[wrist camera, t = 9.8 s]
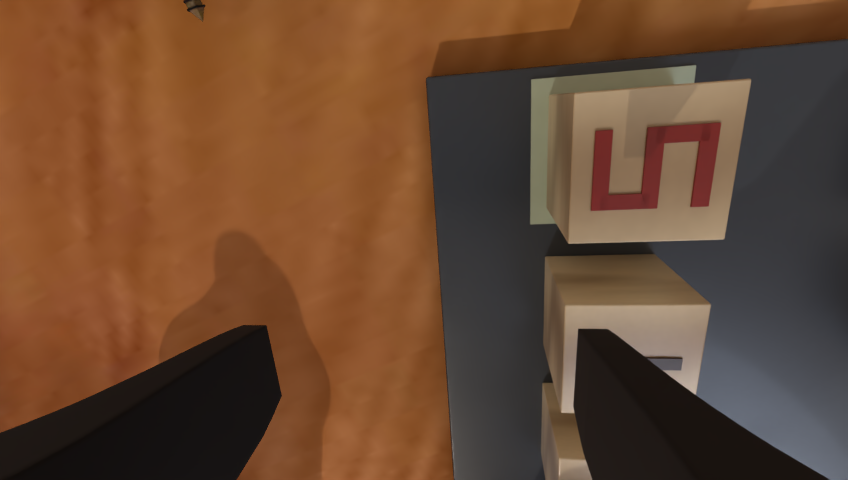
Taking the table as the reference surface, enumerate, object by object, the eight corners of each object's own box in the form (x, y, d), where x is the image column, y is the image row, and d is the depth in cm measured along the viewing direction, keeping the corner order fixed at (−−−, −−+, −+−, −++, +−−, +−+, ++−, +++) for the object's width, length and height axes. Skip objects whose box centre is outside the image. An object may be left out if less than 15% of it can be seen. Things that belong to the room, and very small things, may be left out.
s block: (661, 203, 15) (726, 241, 11) (546, 208, 16) (568, 245, 12) (675, 84, 14) (754, 77, 10) (548, 94, 14) (574, 92, 10)
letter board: (959, 527, 19) (1124, 674, 14) (457, 495, 23) (450, 604, 18) (1210, 8, 12) (1703, -55, 7) (428, 78, 16) (405, 68, 11)
